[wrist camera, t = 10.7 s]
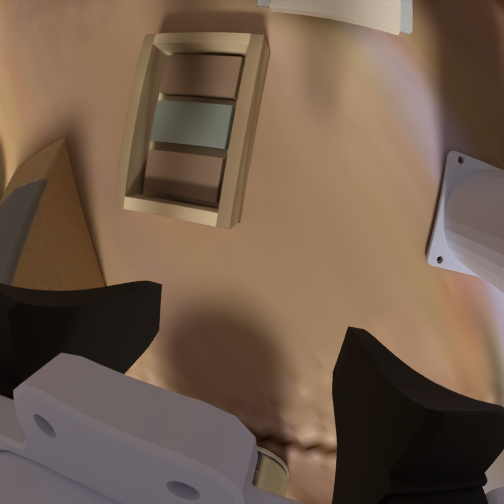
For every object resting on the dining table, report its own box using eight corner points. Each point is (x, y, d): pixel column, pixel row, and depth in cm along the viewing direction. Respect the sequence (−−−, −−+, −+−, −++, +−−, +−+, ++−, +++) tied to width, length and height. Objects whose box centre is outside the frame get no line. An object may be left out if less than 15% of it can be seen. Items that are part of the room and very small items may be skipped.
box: (270, 52, 18) (264, 34, 15) (239, 222, 21) (229, 229, 18) (163, 48, 19) (145, 34, 16) (135, 202, 22) (113, 206, 19)
